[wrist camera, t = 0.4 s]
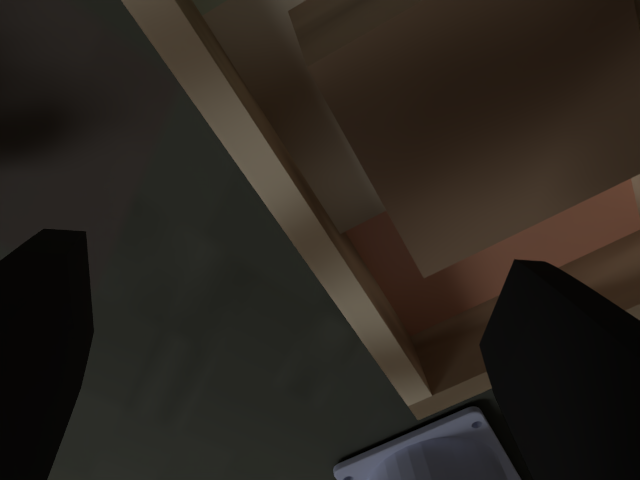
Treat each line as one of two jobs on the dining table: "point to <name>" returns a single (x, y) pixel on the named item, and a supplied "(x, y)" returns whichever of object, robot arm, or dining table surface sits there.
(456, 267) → the frame
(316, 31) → the walnut block
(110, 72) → the dining table surface
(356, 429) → the dining table surface
